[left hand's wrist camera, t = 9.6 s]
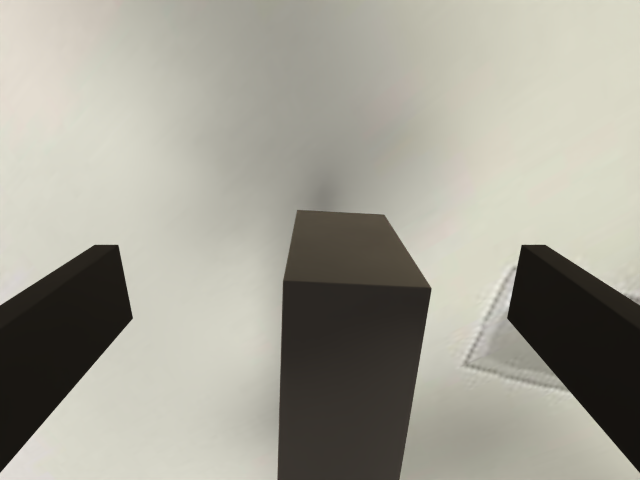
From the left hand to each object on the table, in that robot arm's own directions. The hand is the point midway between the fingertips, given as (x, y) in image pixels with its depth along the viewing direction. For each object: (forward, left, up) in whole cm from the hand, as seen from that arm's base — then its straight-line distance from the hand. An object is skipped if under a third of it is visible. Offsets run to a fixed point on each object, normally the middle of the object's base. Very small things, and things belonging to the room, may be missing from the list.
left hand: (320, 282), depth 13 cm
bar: (+13, +4, -7) cm, 15 cm away
